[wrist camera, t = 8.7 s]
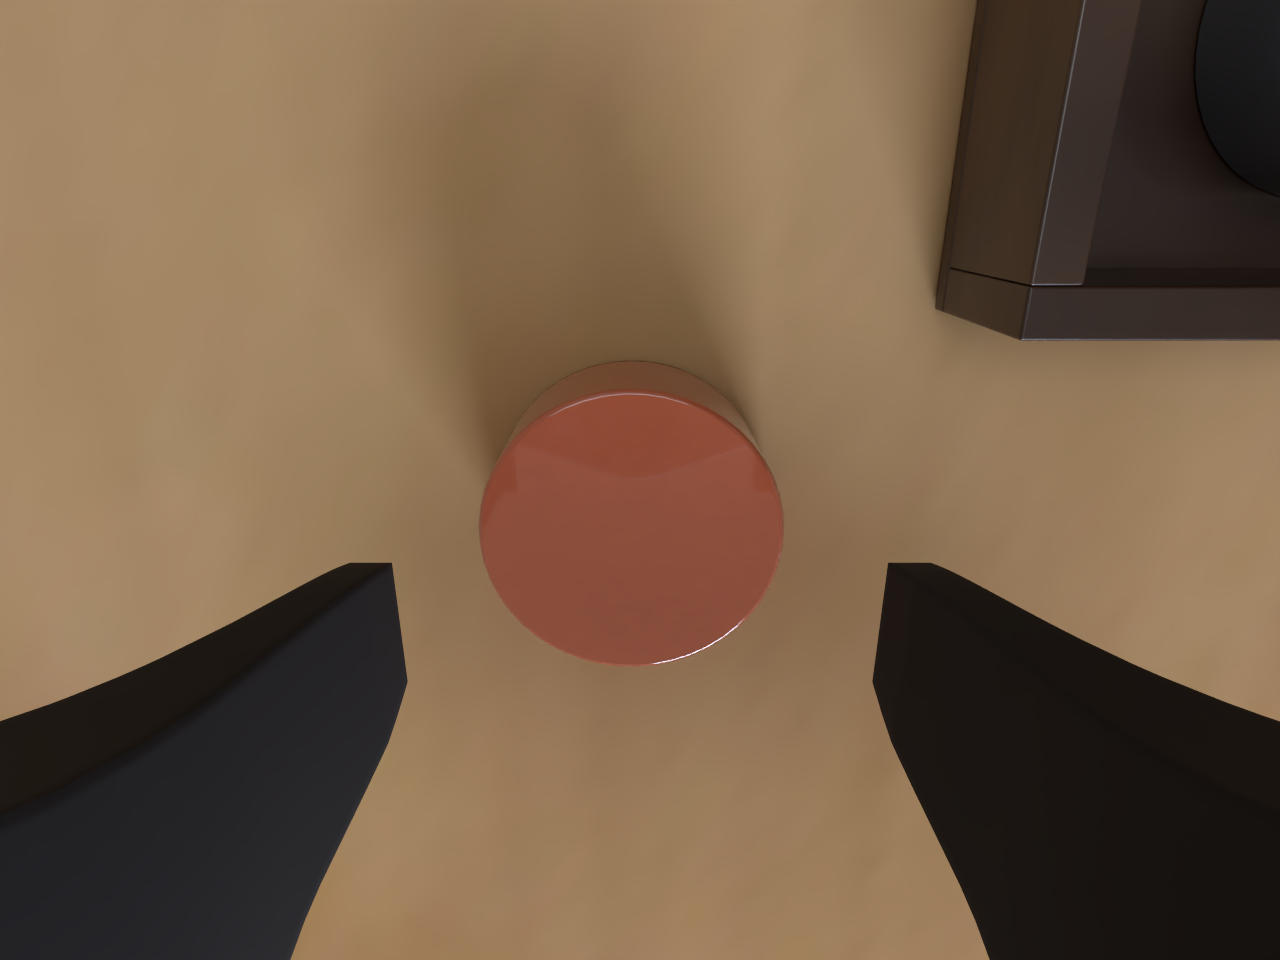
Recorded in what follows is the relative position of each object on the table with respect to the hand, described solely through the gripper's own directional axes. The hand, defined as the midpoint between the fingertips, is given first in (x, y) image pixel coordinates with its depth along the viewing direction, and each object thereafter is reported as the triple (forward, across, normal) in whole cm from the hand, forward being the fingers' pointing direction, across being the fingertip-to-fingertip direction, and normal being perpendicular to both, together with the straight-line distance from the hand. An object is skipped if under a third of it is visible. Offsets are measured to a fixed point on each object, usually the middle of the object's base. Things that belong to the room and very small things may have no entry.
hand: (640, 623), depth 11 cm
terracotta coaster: (+5, 0, 0) cm, 5 cm away
